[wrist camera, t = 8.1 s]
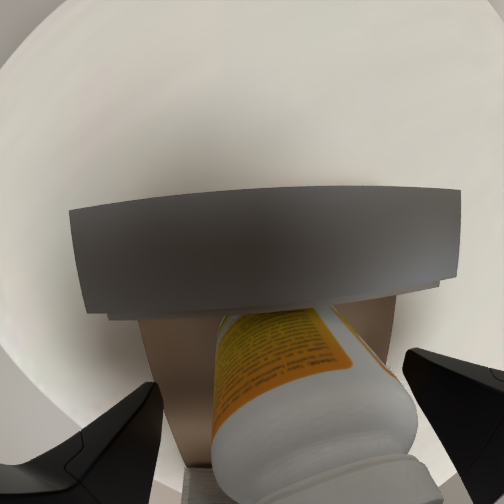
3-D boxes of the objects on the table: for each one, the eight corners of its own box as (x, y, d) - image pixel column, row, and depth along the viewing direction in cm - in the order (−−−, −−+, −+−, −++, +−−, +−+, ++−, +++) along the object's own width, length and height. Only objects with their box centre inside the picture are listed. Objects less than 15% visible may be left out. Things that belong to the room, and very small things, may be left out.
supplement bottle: (201, 366, 12) (181, 573, 2) (243, 260, 11) (300, 509, 2) (303, 392, 13) (367, 559, 3) (355, 301, 12) (509, 450, 2)
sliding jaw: (358, 465, 15) (375, 503, 11) (194, 487, 14) (191, 530, 10) (367, 440, 14) (389, 482, 10) (183, 464, 13) (178, 513, 9)
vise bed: (349, 456, 17) (370, 505, 11) (198, 475, 16) (195, 530, 10) (383, 188, 12) (460, 189, 7) (132, 202, 12) (68, 210, 6)
